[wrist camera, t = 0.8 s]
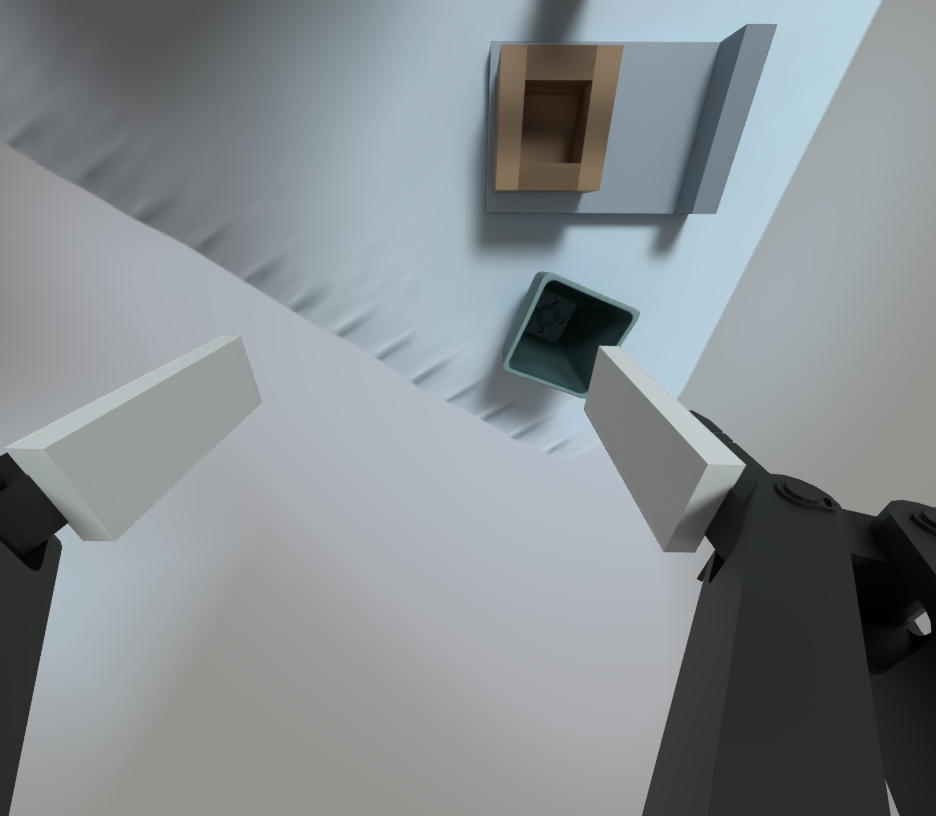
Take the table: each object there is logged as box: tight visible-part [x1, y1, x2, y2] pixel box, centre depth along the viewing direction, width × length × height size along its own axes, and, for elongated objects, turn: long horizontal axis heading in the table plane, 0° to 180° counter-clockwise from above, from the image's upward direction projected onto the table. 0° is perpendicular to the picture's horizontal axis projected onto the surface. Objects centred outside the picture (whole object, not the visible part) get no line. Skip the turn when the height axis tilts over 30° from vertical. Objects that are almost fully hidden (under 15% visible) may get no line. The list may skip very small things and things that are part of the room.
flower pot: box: [503, 272, 640, 398], centre depth 32 cm, size 9×9×9 cm
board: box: [486, 24, 777, 214], centre depth 27 cm, size 11×19×4 cm, turn 90°
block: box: [493, 45, 624, 193], centre depth 26 cm, size 8×8×4 cm
